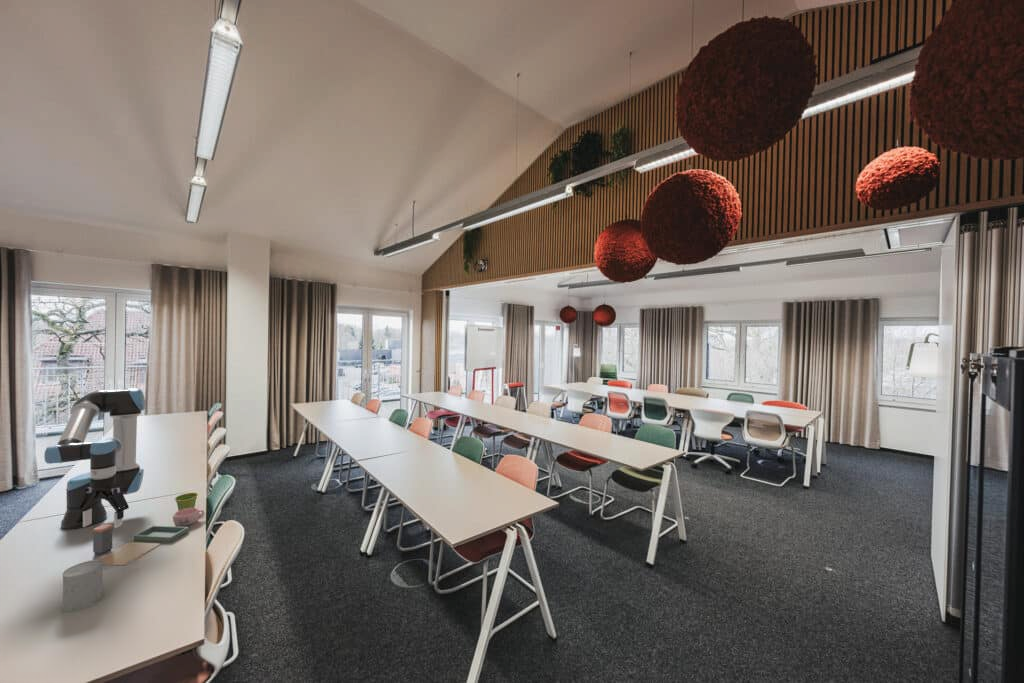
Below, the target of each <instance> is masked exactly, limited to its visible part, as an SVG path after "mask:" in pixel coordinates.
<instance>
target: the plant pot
mask: <svg viewBox="0 0 1024 683" xmlns="http://www.w3.org/2000/svg"><path fill="white" fill-rule="evenodd" d="M198 496H199V493H198V492H189V493H188V492H187V493H183V494H180V495H178V496H176V497H175V498H174V500H175V502H176V505H177V512H178V511H180V510H183V509H187V508H196V503H197V498H198Z"/></svg>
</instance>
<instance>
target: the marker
mask: <svg viewBox="0 0 1024 683" xmlns="http://www.w3.org/2000/svg"><path fill="white" fill-rule="evenodd" d="M113 528H114V524H104V523H103V524H101V525H99V526H96V527H95V528H93V529H92V536H93V537H92V540H93V541H92V542H93V544H92V545H93V546H92V547H93V548H92V552H93V553H94V555H95V556H105V555H107V553H109V552H111V551H112V548H113Z"/></svg>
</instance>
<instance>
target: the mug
mask: <svg viewBox="0 0 1024 683" xmlns="http://www.w3.org/2000/svg"><path fill="white" fill-rule="evenodd" d="M200 513H201V515H200ZM204 515H205V511H204V510H202V509H199V508H197V507H195V508H187V509H183V510H180V511H178V510H177V511H176V512H175V513H174V514H173V515H172V522H173V523H174V525H175V527H187V526H190V525H192V524H195V522H197V520H198V519H199V518H201V517H203V516H204Z"/></svg>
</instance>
